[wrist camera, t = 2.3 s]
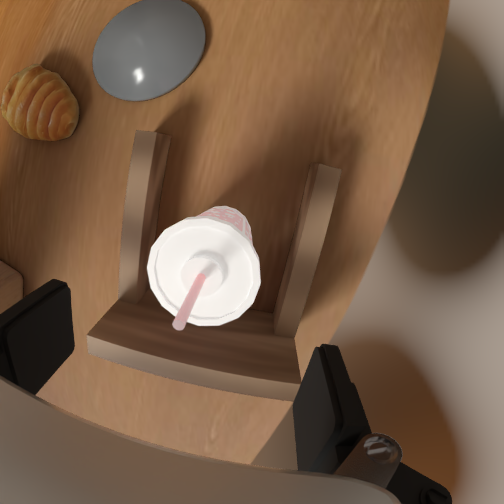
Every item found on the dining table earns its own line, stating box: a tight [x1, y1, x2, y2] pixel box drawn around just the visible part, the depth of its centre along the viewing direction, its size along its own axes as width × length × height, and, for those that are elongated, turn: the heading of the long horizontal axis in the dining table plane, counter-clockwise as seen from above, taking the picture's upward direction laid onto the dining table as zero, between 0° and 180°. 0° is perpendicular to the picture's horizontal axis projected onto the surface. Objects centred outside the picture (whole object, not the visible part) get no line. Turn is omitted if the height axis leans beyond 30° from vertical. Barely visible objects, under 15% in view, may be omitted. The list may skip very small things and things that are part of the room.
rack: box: [87, 130, 342, 402], centre depth 20 cm, size 15×14×9 cm
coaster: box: [93, 0, 206, 101], centre depth 19 cm, size 10×10×1 cm
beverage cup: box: [147, 206, 261, 330], centre depth 18 cm, size 6×6×14 cm
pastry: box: [1, 64, 79, 141], centre depth 20 cm, size 9×7×4 cm
